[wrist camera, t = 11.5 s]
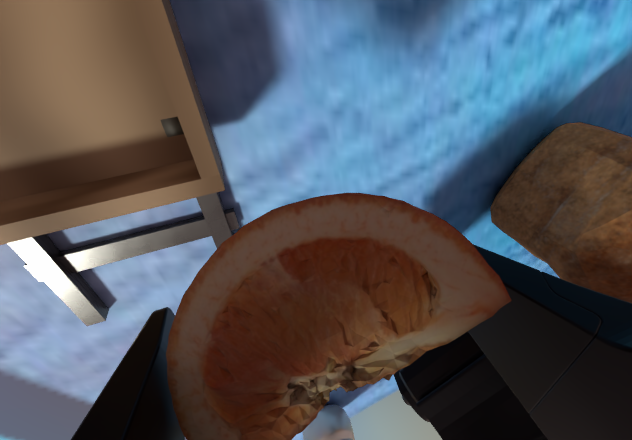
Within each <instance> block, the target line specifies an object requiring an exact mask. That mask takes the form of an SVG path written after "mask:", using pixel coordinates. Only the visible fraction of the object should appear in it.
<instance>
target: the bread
mask: <svg viewBox="0 0 632 440" xmlns="http://www.w3.org/2000/svg"><path fill="white" fill-rule="evenodd" d="M490 209H491V219H492V223H494V224H495V225H496V226H497V227H498V228H499V229H500V230H502V231H503V232H504V233H506V234H507V235H508V236H510V237H511V238H513V239H514V240H515V241H517V242H518V243H519V244H521V245H522V246H523V247H524V248H525V249H527V250H528V251H529V252H530V253H531V254H533V255H534V256H535V257H537V258H539V259H541V260H542V261H544V262H546V263H548V265H549V266H550V267H551V268H552V269H553V270H554V272H555V273H556V274H557V275H558V276H559V277H560V279H563V280H565V281H568V282H571V283H573V284H576V285H579V286H582V287H585V288H587V289H590V290H593V291H596V292H599V293H602V294H605V295H608V296H611V297H614V298H617V299H620V300H623V301H626V302H629V303H632V137H629V136H626V135H623V134H620V133H617V132H614V131H611V130H608V129H605V128H602V127H598V126H594V125H590V124H585V123H581V122H578V123H566V124H564V125H561V126H559V127H557V128H556V129H555V130H553V131H552V132H551V133H550V134H549V135H547V136H546V137H545V138H544V139H543V140H542V141H541V142H540V143H539V144H538V145H537V146H536V147H535V148H534V149H533V150H532V151H531V152H530V153H529V154H528V155H527V156H526V157H525V159H524V160H523V161H522V162H521V163H520V164H519V165H518V166H517V168H516V169H515V170H514V171H513V173H512V174H511V176H510V177H509V178H508V180H507V181H506V182H505V184H504V185H503V187H502V188H501V190H500V191H499V193H498V194H497V196H496V197H495V199H494V201H493V203H492V205H491V207H490Z"/></svg>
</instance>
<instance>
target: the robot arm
mask: <svg viewBox="0 0 632 440" xmlns="http://www.w3.org/2000/svg"><path fill="white" fill-rule="evenodd" d="M473 246H474V247H475V248H476V249H477V251H478V252H479V253H480V254H481V256H482V257H483V258H484V259H485V261H486V262H487V263H488V265H489V266H490V267H491V268H492V269H493V270H494V271H495V272H496V273H497V274H498V275H499V276H500V278H501V280H502V282H503V284H504V286H505V288H506V290H507V292H508V294H509V296H510V298H511V300H512V301H510V302H509V303H507V304H506V305H504V306H503V307H501V308H500V309H499V310H498V311H497V312H496V313H495V314H494V315H493V316H492V317H490V318H489V319H487V320H485V321H483V322H481V323H480V324H478V325H477V326H475V327H473V328H472V329H470V330H469V331H467V332H466V333H464V334H463V335H461V336H460V337H458V338H456V339H455V340H453V341H451V342H450V343H448V344H445V345H442V346H439V347H436V348H434V349H431V350H428V351H426V352H425V353H424V354H423V355H422V356H421V357H419V358H418V359H417V360H415V361H414V362H413V363H412V364H410V365H409V366H407V367H404V368H402V369H400V370H398V371H397V372H395V374H394V377H395V380H396V382H397V385H398V388H399V390H400V393H401V394H402V398H403V400H404V402H405V403H406V404H407V405H410V406H412V408H413V409H414V410H415V412H416V413H417V414H418V415H419V416H420V417H421V418H423V419H424V420H425V421H427V422H431V424H432V425H433V427H435V429H436V431H437V432H438V433H439V435H440V436H441V438H442V439H443V440H632V303H629V302H626V301H623V300H620V299H617V298H614V297H611V296H608V295H605V294H602V293H599V292H596V291H593V290H590V289H587V288H585V287H582V286H579V285H576V284H573V283H571V282H568V281H565V280H563V279H560V278H557V277H555V276H552V275H550V274H547V273H545V272H540V271H539V270H537V269H534V268H532V267H529V266H527V265H524V264H521V263H519V262H516V261H514V260H511V259H509V258H506V257H504V256H501V255H499V254H496V253H494V252H491V251H488V250H486V249H483V248H481V247H478V246H476V245H473ZM174 318H175V315H174V313H173V312H172V310H171V309H170V308H168V307H166V308H163V309H159V310H156V311H154V312H153V313H152V314H151V316H150V317H149V319H148V320H147V322H146V323H145V325H144V327H143V328H142V330H141V331H140V333H139V334H138V336H137V337H136V339H135V341H134V342H133V344H132V345H131V347H130V348H129V350H128V351H127V353H126V355H125V356H124V358H123V359H122V361H121V362H120V364H119V365H118V367H117V369H116V370H115V372H114V373H113V375H112V376H111V378H110V379H109V381H108V383H107V384H106V386H105V387H104V389H103V390H102V392H101V393H100V395H99V397H98V398H97V400H96V401H95V403H94V404H93V406H92V408H91V409H90V411H89V412H88V414H87V415H86V417H85V418H84V420H83V421H82V423H81V425H80V426H79V428H78V429H77V431H76V432H75V434H74V435H73V437H72V439H71V440H185V436H184V435H183V432H182V430H181V428H180V426H179V422H178V419H177V416H176V414H175V411H174V408H173V402H172V397H171V393H170V390H169V385H168V379H167V358H166V351H167V346H168V338H169V333H170V330H171V327H172V324H173V321H174Z"/></svg>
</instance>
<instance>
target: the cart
mask: <svg viewBox="0 0 632 440" xmlns="http://www.w3.org/2000/svg"><path fill="white" fill-rule="evenodd" d="M224 190H225V186H224V179H223V172H222V164H221V159H220V156H219V153H218V150H217V147H216V144H215V141H214V138H213V135H212V131H211V128H210V125H209V122H208V119H207V116H206V113H205V110H204V107H203V103H202V100H201V97H200V94H199V91H198V88H197V85H196V82H195V79H194V75H193V72H192V69H191V66H190V63H189V60H188V57H187V54H186V51H185V47H184V44H183V41H182V38H181V35H180V32H179V29H178V26H177V23H176V19H175V16H174V13H173V10H172V7H171V4H170V1H169V0H0V245H2V244H6V243H10V242H15V241H19V240H23V239H27V238H31V237H35V236H39V235H43V234H47V233H52V232H56V231H60V230H64V229H68V228H72V227H76V226H80V225H85V224H89V223H93V222H97V221H101V220H105V219H109V218H113V217H117V216H122V215H126V214H130V213H134V212H138V211H142V210H146V209H150V208H154V207H159V206H163V205H167V204H171V203H175V202H179V201H183V200H187V199H191V198H196V197H200V196H204V195H208V194H212V193H216V192H220V191H224Z"/></svg>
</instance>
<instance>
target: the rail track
mask: <svg viewBox="0 0 632 440" xmlns="http://www.w3.org/2000/svg"><path fill="white" fill-rule="evenodd" d="M196 198H197V200H198V203H199V205H200V208H201V210H202V213H203V215H204V216H200V217H196V218H192V219H188V220H184V221H181V222H177V223H173V224H169V225H165V226H161V227H157V228H153V229H149V230H145V231H141V232H137V233H133V234H130V235H126V236H122V237H118V238H114V239H110V240H106V241H102V242H98V243H94V244H90V245H86V246H83V247H79V248H75V249H71V250H67V251H63V252H60V251H59V249H58V248H57V247H56V246H55V245H54V243H53V242H52V241H51V240H50V239H49V237H48V236H47V235H46V234H43V235H39V236H35V237H31V238H27V239H23V240H19V241H15V242H10V243H7V244H8V245H9V246H10V247H11V248H12V249H13V250H14V251H15V252H16V253H17V254H18V255H19V256H20V257H21V258H22V259H23V260H24V261H25V262H26V264H25V265H24V267H25V268H26V269H27V270H28V271H29V272H30V273H31V274H32V275H33V276H34V277H35V278H36V279H37V280H38V281H39V282H41V281H44V282H45V283H46V284H47V285H48V286H49V287H50V288H51V289H52V290H53V292H54V293H55V294H56V295H57V296H58V297H59V298H60V299H61V300H62V301H63V302H64V303H65V304H66V305H67V306H68V307H69V308H70V309H71V310H72V311H73V312H74V313H75V314H76V315H77V316H78V317H79V319H80V320H81V321H82V322H83V323H84V324H85V325H86V326H89V325H93V324H96V323H99V322H103V321H106V317H107V314H108V311H109V309H108V308H107V307H106V305H105V304H104V303H103V302H102V301H101V299H100V298H99V297H98V296H97V295H96V293H95V292H94V291H93V290H92V289H91V287H90V286H89V285H88V284H87V283H86V282H85V280H84V279H83V278H82V277H81V276H80V274H79V273H78V272H79V271H82V270H86V269H90V268H94V267H97V266H101V265H105V264H108V263H112V262H116V261H120V260H123V259H127V258H131V257H134V256H138V255H142V254H146V253H149V252H153V251H157V250H160V249H164V248H168V247H172V246H175V245H179V244H183V243H187V242H190V241H194V240H198V239H201V238H205V237H209V236H212V237H213V240H214V242H215V244H216V247H217V249H218V248H219V246H220V245H221V244H222V243H223V242H224V241H225V240H227V239H228V238H230V237H231V236H232V235H233V233H232V230H235V229H239V223H238V220H237V217H236V214H235V211H234V208H231V209H228V210H224V207H223V204H222V201H221V199H220V196H219V193H218V192H216V193H212V194H208V195H204V196H200V197H196Z"/></svg>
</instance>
